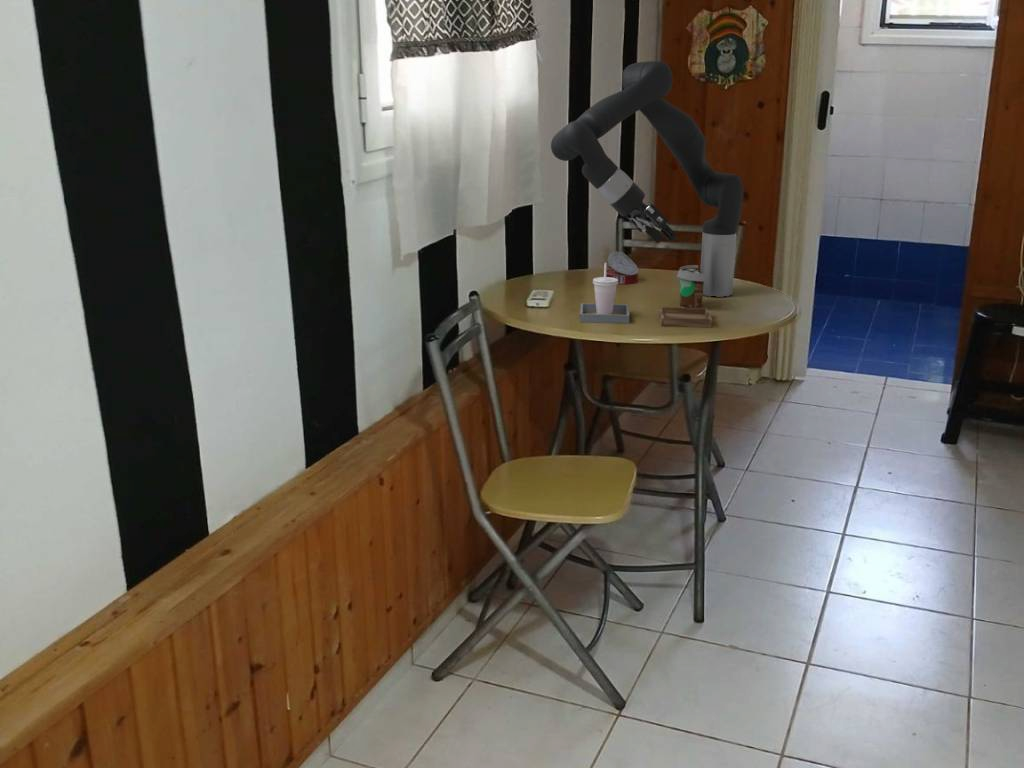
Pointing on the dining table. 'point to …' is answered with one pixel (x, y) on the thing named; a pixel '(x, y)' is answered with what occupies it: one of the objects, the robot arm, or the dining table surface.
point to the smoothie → (605, 293)
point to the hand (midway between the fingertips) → (667, 240)
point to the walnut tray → (685, 317)
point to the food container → (691, 286)
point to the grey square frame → (604, 317)
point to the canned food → (622, 268)
